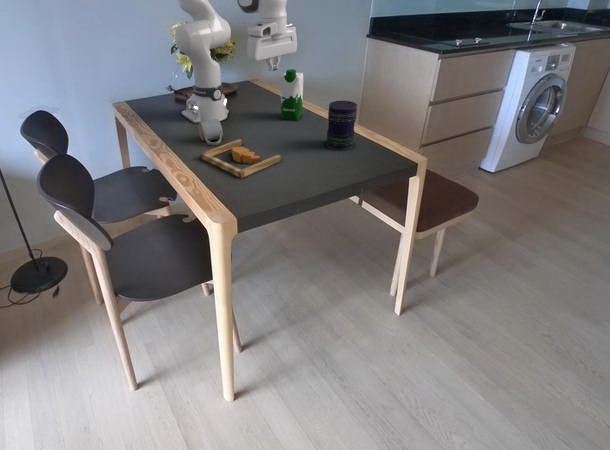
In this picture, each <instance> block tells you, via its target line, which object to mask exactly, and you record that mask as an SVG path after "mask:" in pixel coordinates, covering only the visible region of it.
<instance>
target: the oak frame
mask: <svg viewBox="0 0 610 450" xmlns="http://www.w3.org/2000/svg"><path fill="white" fill-rule="evenodd" d="M242 140H243V139H240V138H238V139H235V140H233V141H231V142H228V143H224V144H222V145H219V146H217V147H214V148H211V149H208V150H206V151H202V152H201V153H200V159H201V160H203V161H205V162H207V163H210V164H211V165H214V166H216V167H218V168H219V169H222V170H224V171H225V172H227V173H229V174H231V175H234V176H236V177H237V178H240V179H243V178H245V177H247V176H250V175H252V174H254V173H256V172H259V171H262V170H263V169H266V168H269V167H270V166H273V165H275V164H277V163H279V162H281V161H282V160H281V156H282V155H279V154H275V155H273V156H271V157H269V158H266V159H264V160H260V162H259V163H257V164H251V165H249V166H247V167H244V168H242V169H240V168H239V167H236V166H234V165H232V164H229V163H228V162H226V161H224V160H222V159H220V158H217V157H215V156H217V155H220V154H223V153H224V152H228V151H230V150H232V149H231V148H233V147H240V146H241V147H242V146H243V141H242Z"/></svg>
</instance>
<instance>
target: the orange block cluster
mask: <svg viewBox="0 0 610 450" xmlns="http://www.w3.org/2000/svg"><path fill="white" fill-rule="evenodd" d="M230 150H231V156H232V158H233V160H232V161H235V162H237V163H238V164H242V163H243V164H248V165H254V164H257V163H259V162H261V159H260V157H261V156H260V155H255V151H250V149H249V148H246V147H245V146H242V145H241V146H238V147H233V148H231V149H230Z"/></svg>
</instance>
